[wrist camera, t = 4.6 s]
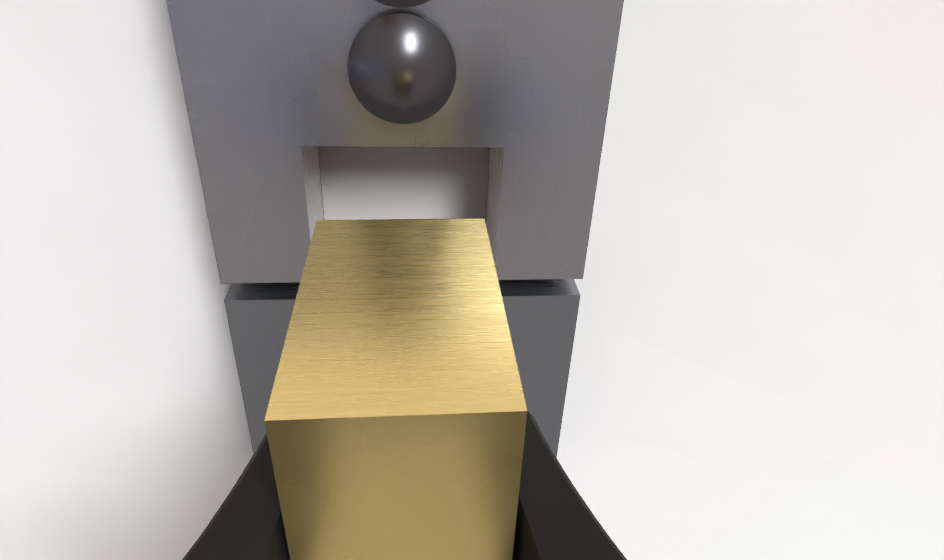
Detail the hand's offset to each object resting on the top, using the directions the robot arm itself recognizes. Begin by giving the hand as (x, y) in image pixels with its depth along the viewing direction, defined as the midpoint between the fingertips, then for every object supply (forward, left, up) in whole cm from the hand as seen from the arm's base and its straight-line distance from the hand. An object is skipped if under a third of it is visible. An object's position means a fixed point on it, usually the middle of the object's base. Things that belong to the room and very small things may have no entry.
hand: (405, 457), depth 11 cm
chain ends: (0, 0, -8) cm, 8 cm away
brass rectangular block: (0, 0, -3) cm, 3 cm away
